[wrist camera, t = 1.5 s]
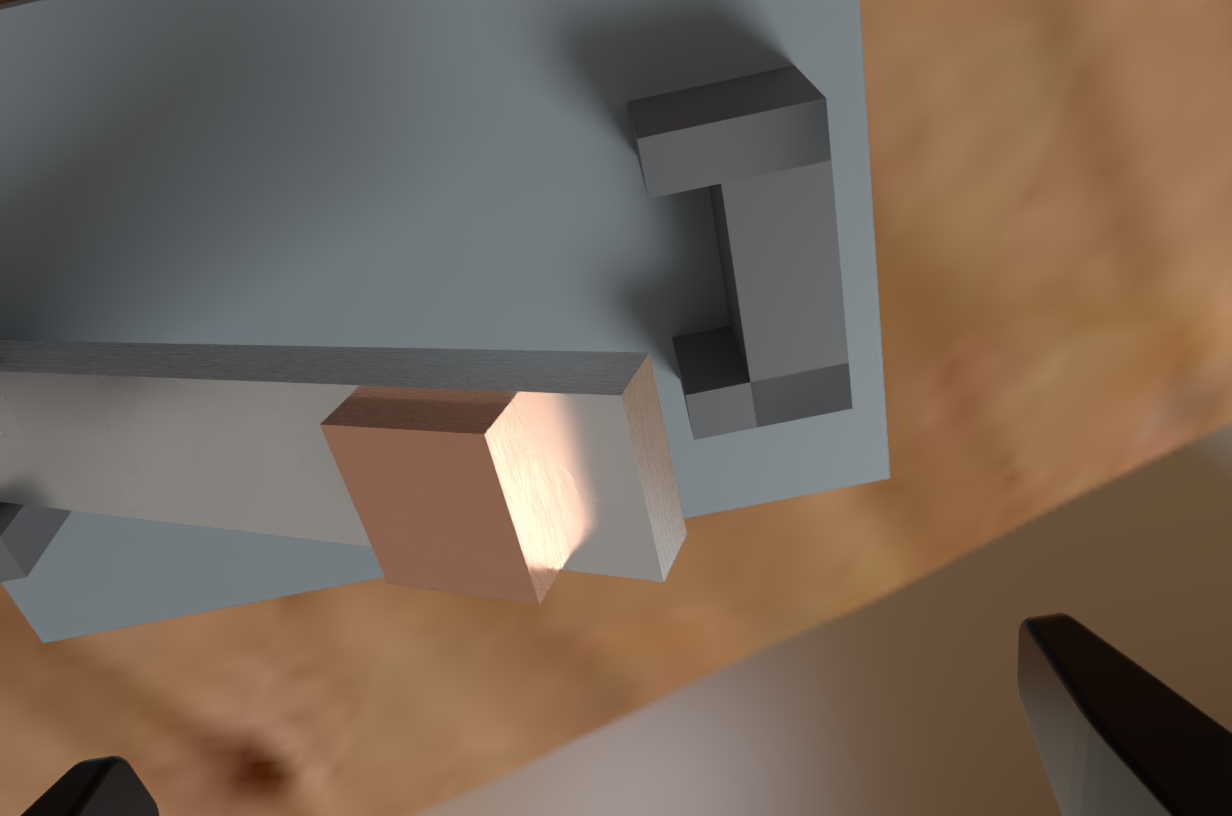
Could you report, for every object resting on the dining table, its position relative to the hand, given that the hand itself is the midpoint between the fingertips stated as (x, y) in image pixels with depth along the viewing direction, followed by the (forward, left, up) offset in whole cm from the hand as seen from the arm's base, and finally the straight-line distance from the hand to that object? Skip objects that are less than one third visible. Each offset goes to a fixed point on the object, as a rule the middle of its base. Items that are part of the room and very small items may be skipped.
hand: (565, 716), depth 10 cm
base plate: (-4, 0, -12) cm, 13 cm away
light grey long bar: (-5, 0, -8) cm, 9 cm away
